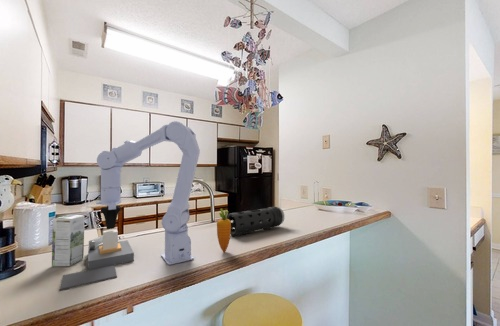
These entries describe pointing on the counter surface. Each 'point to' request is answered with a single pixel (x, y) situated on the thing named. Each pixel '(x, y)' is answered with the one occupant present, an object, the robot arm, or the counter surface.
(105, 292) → the counter surface
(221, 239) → the carrot
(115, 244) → the plug
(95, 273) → the mat
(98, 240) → the clip
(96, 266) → the socket block
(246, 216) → the muzzle brake
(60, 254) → the syrup box
